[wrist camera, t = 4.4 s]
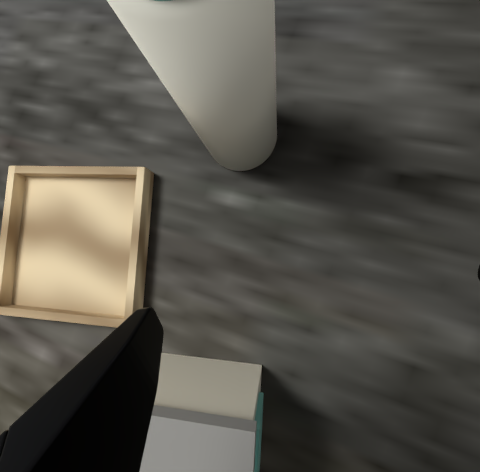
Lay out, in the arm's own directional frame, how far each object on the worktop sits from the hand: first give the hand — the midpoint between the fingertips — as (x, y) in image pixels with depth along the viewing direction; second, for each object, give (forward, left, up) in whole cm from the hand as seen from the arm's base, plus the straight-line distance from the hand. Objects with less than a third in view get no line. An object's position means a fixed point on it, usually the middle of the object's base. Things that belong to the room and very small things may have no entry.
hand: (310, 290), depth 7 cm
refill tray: (+1, +17, -12) cm, 21 cm away
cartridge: (+10, +4, -12) cm, 16 cm away
